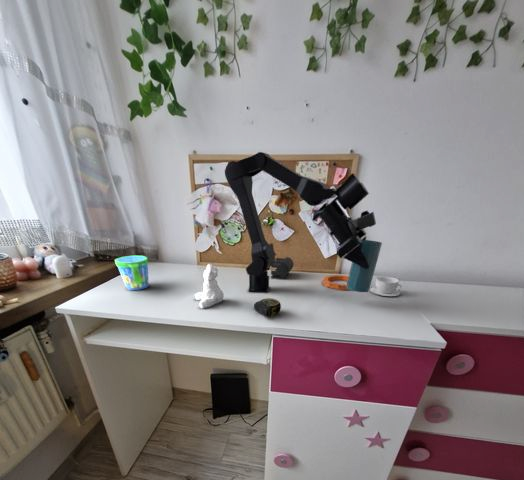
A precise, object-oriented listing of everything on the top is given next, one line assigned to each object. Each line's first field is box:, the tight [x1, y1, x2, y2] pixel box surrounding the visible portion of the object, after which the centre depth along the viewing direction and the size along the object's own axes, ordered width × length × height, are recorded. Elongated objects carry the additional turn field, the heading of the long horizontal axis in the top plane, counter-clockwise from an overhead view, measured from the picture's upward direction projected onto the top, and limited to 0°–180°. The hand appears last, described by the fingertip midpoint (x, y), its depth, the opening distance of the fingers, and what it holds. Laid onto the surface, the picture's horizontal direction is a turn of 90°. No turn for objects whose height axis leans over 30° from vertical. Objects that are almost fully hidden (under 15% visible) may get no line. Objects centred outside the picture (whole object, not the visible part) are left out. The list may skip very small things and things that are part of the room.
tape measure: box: [253, 298, 282, 318], centre depth 79 cm, size 7×7×4 cm
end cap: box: [270, 256, 294, 280], centre depth 112 cm, size 10×7×7 cm
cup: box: [346, 239, 383, 293], centre depth 81 cm, size 7×7×14 cm
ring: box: [322, 274, 350, 291], centre depth 104 cm, size 14×14×2 cm
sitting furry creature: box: [194, 263, 224, 309], centre depth 85 cm, size 10×9×12 cm
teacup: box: [369, 276, 403, 297], centre depth 96 cm, size 10×10×5 cm
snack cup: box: [114, 255, 149, 291], centre depth 97 cm, size 16×10×10 cm
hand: (369, 265), depth 80 cm, fingers closed on cup, 7 cm apart
